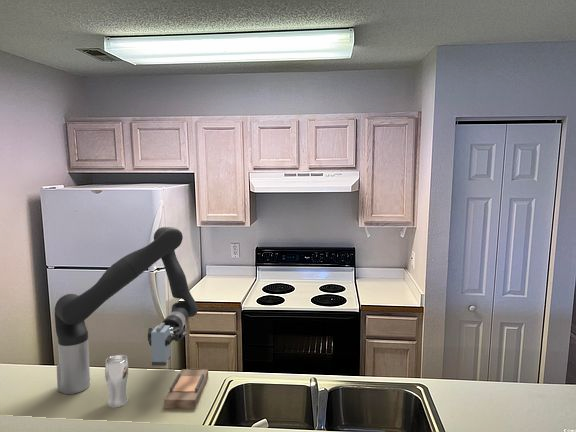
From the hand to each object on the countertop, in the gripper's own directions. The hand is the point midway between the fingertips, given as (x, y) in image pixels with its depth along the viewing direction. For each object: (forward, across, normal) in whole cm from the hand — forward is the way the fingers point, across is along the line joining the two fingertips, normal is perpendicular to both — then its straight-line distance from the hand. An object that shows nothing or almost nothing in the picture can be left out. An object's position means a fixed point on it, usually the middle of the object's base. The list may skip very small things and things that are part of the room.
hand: (158, 343), depth 131 cm
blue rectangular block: (-3, 0, +8) cm, 8 cm away
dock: (-3, +9, +19) cm, 21 cm away
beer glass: (+4, -13, +19) cm, 23 cm away
